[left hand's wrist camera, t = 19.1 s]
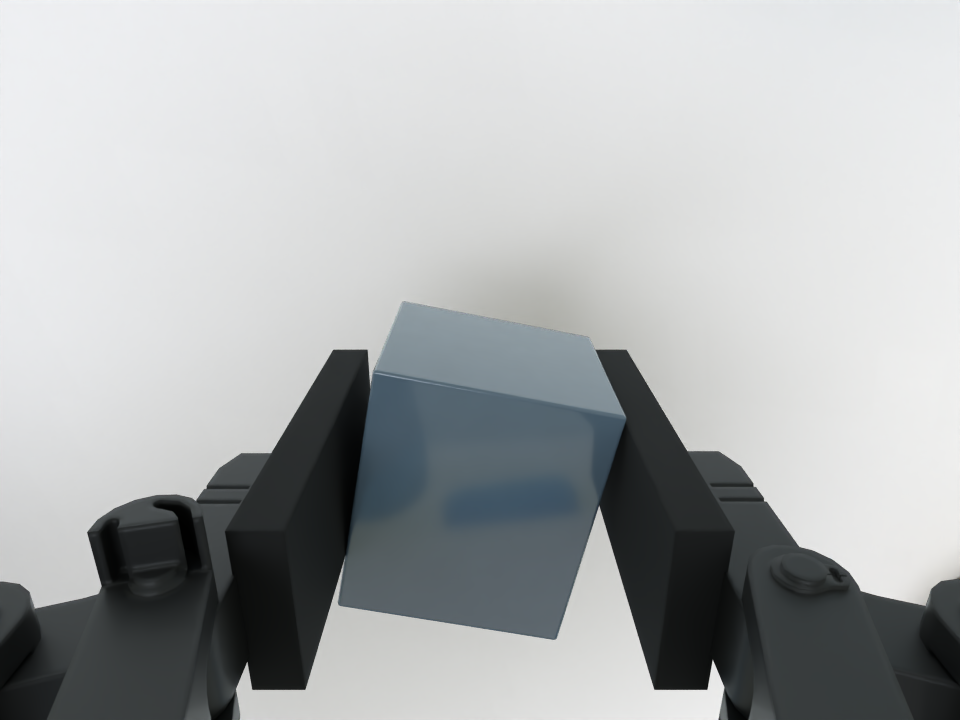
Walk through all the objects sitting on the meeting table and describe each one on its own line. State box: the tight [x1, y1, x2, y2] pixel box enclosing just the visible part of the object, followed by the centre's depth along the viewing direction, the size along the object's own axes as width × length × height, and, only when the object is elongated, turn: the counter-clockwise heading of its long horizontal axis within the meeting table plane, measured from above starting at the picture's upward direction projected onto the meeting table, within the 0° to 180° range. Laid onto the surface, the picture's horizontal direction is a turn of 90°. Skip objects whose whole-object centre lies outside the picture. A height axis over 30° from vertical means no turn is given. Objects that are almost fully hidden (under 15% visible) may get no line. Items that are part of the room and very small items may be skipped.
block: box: [338, 301, 626, 640], centre depth 13 cm, size 5×4×4 cm
